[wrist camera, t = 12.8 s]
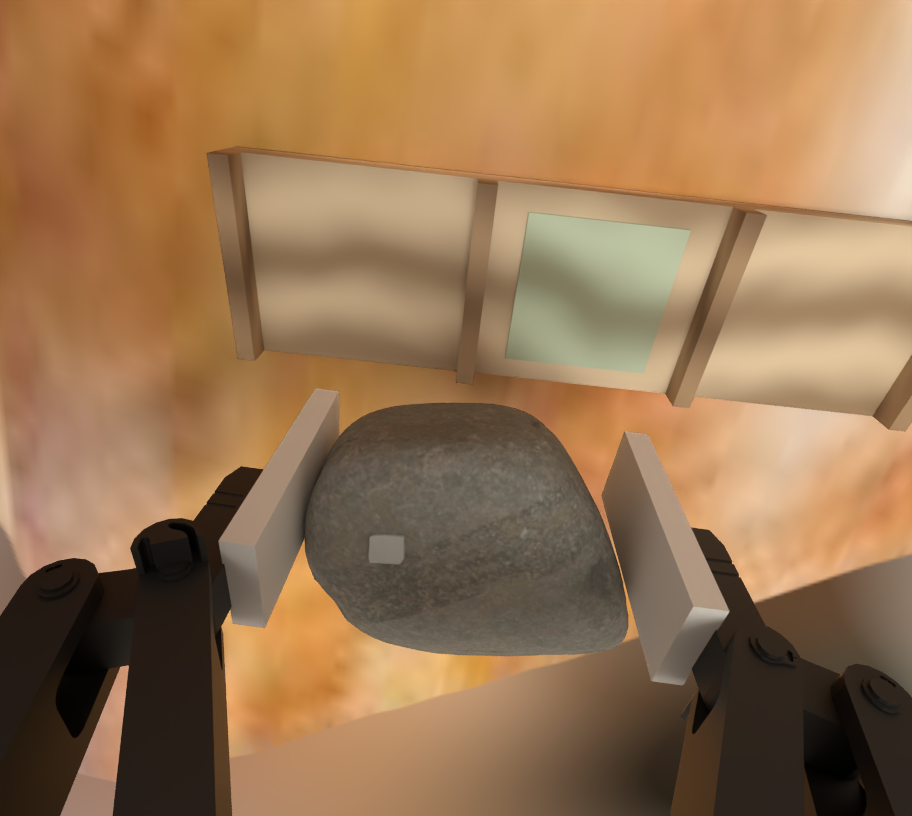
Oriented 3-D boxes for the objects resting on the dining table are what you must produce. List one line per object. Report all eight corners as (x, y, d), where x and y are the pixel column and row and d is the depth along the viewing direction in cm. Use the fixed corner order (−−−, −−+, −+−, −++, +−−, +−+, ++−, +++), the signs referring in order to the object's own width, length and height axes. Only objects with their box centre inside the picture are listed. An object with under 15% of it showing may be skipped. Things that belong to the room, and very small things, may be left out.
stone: (398, 603, 23) (301, 782, 13) (371, 405, 22) (248, 429, 12) (605, 589, 21) (677, 775, 11) (581, 378, 21) (633, 381, 11)
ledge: (237, 146, 27) (206, 153, 24) (975, 228, 27) (1035, 244, 24) (260, 335, 33) (237, 359, 30) (867, 401, 33) (905, 431, 30)
